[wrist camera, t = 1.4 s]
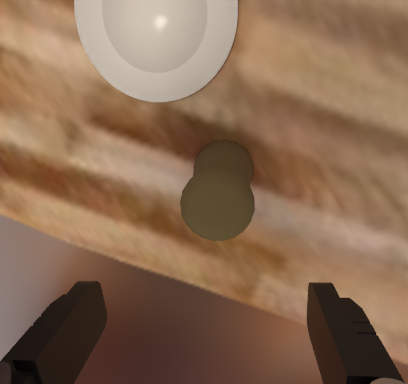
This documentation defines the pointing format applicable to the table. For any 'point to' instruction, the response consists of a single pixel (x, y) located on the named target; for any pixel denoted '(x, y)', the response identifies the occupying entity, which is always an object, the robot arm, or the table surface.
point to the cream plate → (157, 43)
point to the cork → (219, 192)
